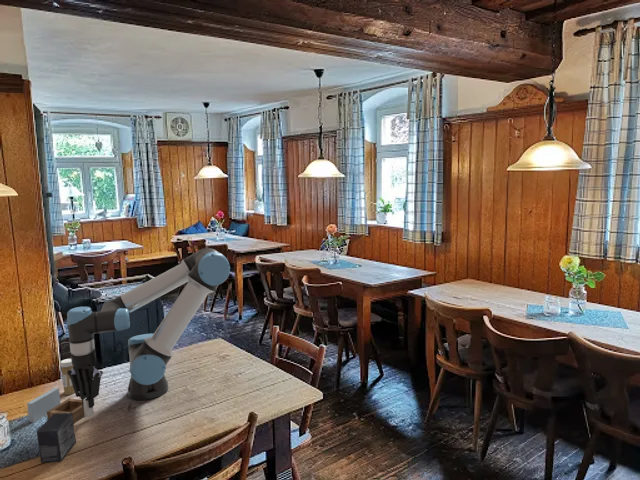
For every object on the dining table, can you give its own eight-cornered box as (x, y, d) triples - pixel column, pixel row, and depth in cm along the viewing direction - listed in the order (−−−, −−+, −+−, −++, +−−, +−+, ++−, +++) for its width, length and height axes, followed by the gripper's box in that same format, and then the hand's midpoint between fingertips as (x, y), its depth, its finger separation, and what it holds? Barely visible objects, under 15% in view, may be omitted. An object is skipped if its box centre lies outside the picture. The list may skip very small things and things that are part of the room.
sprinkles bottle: (77, 393, 184) (73, 360, 182) (64, 396, 182) (60, 363, 180) (75, 388, 188) (72, 357, 186) (63, 391, 186) (59, 360, 184)
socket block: (92, 411, 169) (91, 400, 169) (71, 425, 160) (70, 414, 159) (69, 408, 172) (68, 398, 171) (48, 422, 162) (46, 411, 162)
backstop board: (60, 405, 174) (58, 388, 173) (34, 422, 163) (31, 403, 162) (56, 405, 175) (54, 387, 174) (29, 421, 163) (27, 403, 162)
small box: (56, 443, 149) (52, 413, 148) (77, 441, 150) (73, 411, 148) (39, 463, 139) (35, 431, 137) (61, 461, 139) (58, 429, 138)
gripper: (106, 349, 162) (112, 412, 166) (75, 346, 165) (81, 408, 169) (91, 357, 155) (97, 422, 158) (58, 354, 158) (65, 419, 161)
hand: (89, 415), depth 163 cm, fingers closed
